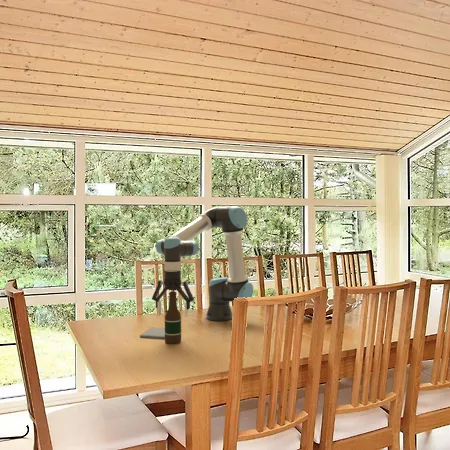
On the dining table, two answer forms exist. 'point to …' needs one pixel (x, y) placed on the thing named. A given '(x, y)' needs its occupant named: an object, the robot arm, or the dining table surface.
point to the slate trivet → (154, 333)
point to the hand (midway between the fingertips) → (172, 315)
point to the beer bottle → (172, 322)
